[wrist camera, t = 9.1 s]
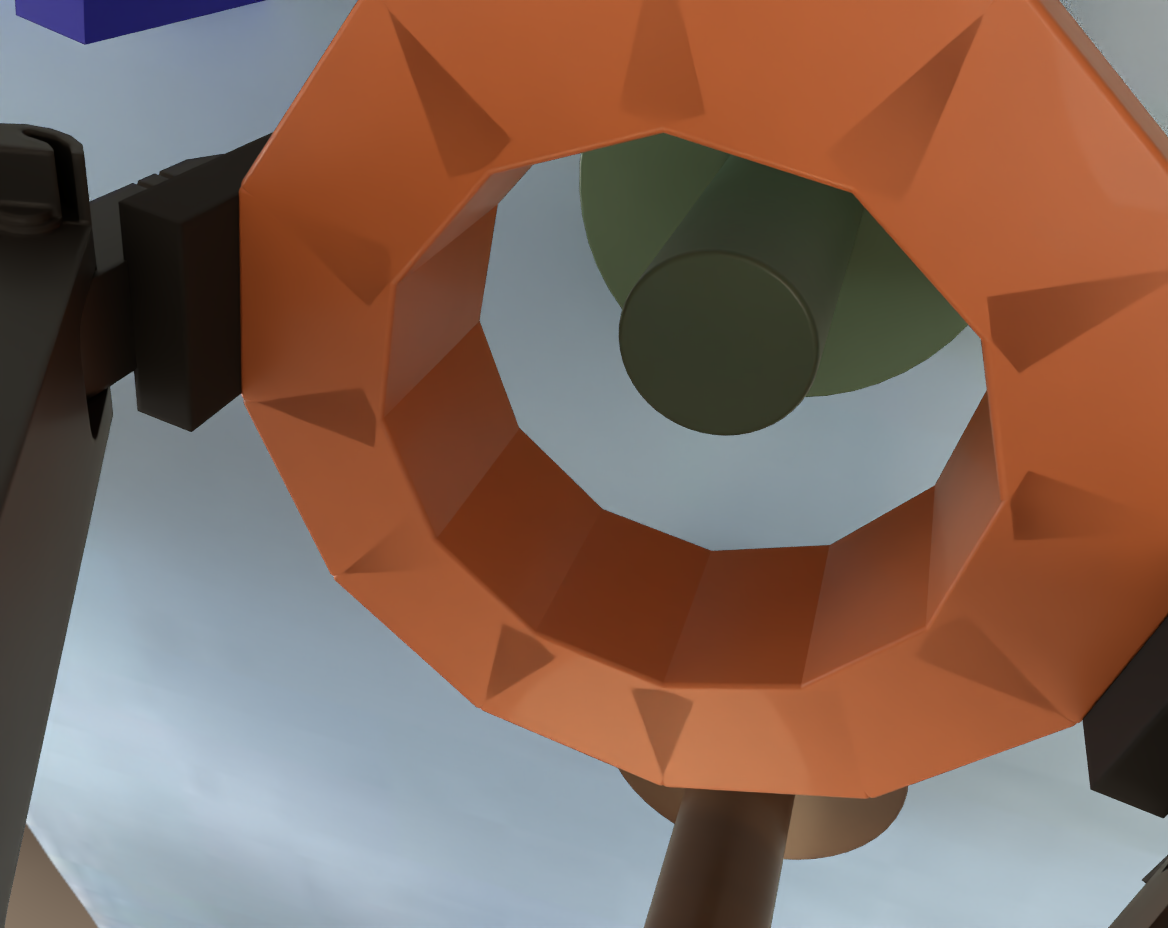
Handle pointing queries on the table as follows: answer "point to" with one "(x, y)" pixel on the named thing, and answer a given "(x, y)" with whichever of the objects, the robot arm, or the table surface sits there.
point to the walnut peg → (747, 847)
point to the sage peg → (749, 284)
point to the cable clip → (115, 15)
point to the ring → (658, 560)
